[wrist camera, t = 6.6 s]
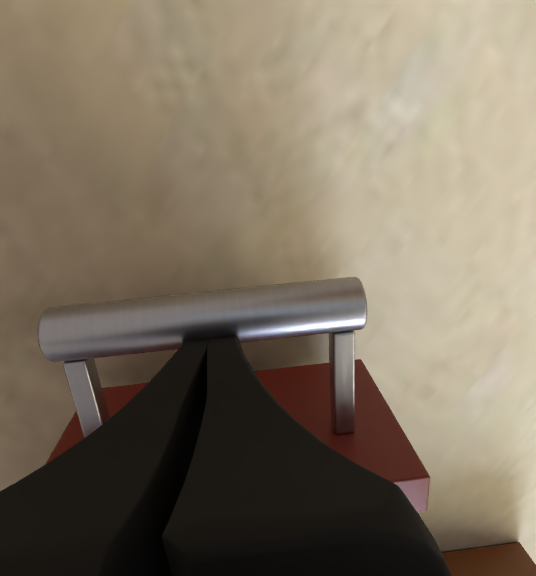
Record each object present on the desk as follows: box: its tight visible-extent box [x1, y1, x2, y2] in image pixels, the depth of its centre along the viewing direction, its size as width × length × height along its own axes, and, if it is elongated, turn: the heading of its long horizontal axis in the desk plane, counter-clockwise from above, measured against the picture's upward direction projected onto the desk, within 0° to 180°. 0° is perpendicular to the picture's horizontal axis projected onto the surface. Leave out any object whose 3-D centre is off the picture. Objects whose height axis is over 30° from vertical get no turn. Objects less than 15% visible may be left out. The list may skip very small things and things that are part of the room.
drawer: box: [38, 277, 430, 512], centre depth 14 cm, size 17×10×6 cm, turn 4°
